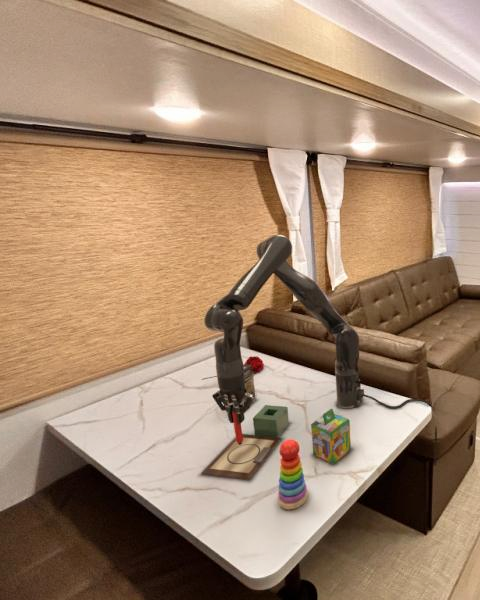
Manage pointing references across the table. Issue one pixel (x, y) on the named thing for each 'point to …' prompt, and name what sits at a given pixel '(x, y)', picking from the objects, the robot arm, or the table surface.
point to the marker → (237, 427)
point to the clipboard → (242, 457)
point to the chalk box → (331, 437)
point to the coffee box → (249, 381)
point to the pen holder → (271, 421)
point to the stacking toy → (291, 477)
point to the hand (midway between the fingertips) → (237, 422)
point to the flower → (253, 364)
